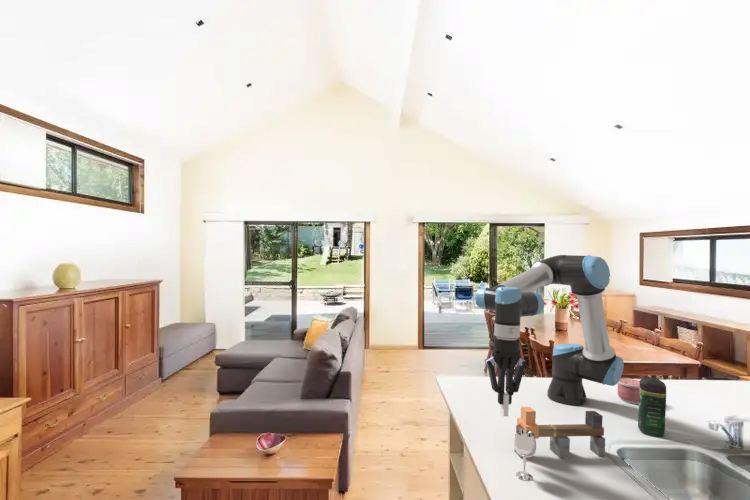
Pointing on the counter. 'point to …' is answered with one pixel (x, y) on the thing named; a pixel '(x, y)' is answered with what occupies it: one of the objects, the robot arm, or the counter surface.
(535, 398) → the counter surface
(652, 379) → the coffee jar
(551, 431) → the beam
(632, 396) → the container
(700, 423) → the counter surface
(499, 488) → the counter surface
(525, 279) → the robot arm
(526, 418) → the rider
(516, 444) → the wineglass
